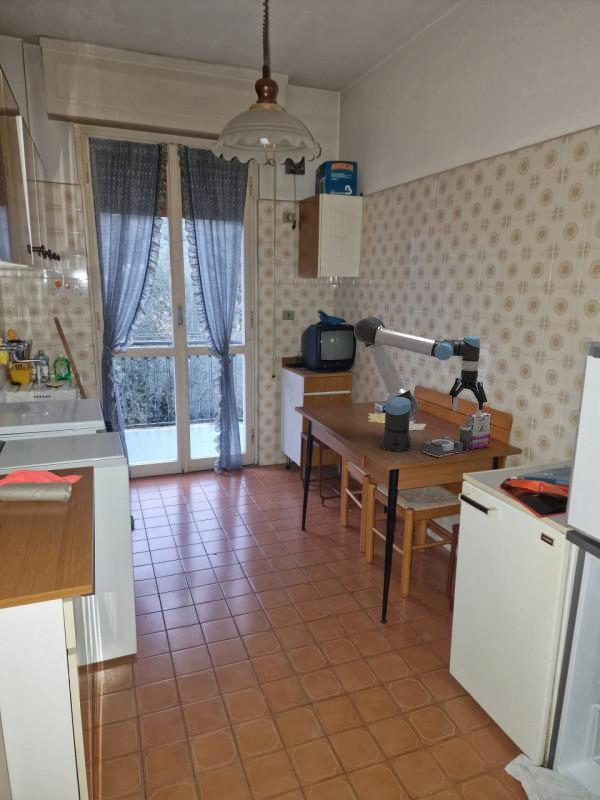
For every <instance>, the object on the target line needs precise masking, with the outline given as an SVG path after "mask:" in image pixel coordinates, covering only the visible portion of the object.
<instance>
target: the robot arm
mask: <svg viewBox="0 0 600 800" xmlns="http://www.w3.org/2000/svg"><path fill="white" fill-rule="evenodd" d="M353 334H354V337H355V339H356V340H357V341H358V342H360V343H363V344H364V346H365V348H366V349H367V350H369V351H370V353H371V354H372V357H373V360H374V362H375V365H376V366H377V369H378V371H379V374H380V376H381V379H382V382H383V383H384V386H385V388H386V390H387V393H388V396H387V400H386V402H385V406H384V409H385V410H384V411H385V412H384V431H383V434H382V437H381V439H380V442H379V447H380V446H381V447H382V449H383V448H385V449H384V450H386V449H389V450H388V451H390V450H408V449H410V450H412V448H413V443H412V439H411V436H410V435H411V434H410V423H411V422H410V420H411V419H412V418H413V417H414V416H415V415H416V414H417V412H418V408H419V407H418V406H419V403H418V400H417V398H416V397H415V396H414V395H412V392H411V390H410V389H409V388H407V387H406V386H405V384H404V381H403V379H402V377H401V375H400V372H399V370H398V367H397V365H396V362H395V360H394V359H393V355H392V353H391V351H390V349H389V347H393V348H394V349H395V348H396V349H400V350H404V351H408V352H413V353H417V354H420V355H425V356H428V357H429V356H430V357H433V358H435V359H436V358H437V360H439V361H447V360H449V359H451V358H452V357H461V371H460V377H456V378H455V379H454V382H453V385H452V387H451V389H450V391H449V393H448V395H449V396H451V404H452V412H457V411H458V406H459V405H458V404H459V397H458V396H459V395H460V394H461V393H462V392H463V391H464V389H465V390H470V391H471V392H472V394H473V396H474V397H475V399H476V401H477V403H476V409H475V411H476V412H475V414H476V417H480V416H481V413H482V411H483V409H484V404H485V403H488V399H487V398H488V397H487V395H486V392H485V389H484V386H483V385H484V383H483V381H478V380H477V379H478V376H479V370H478V369H479V365H480V364H479V362H480V352H481V351H480V350H481V338H480V337H479V336H475V335H474V336H473V335H472V336H471V335H465V336H464V337H463V339H461V340H460V339H459V340H458V339H446V338H444V339H441V338H440V339H438V340H436V339H433V338H428V337H423V336H418V335H415V334H410V333H406V332H401V331H397V330H394V329H393V330H392V329H388V328H386V325H385V323H384V321H383V320H382V319H380V318H379V317H375V316H371V317H370V316H369V317H366V318H362V319H360V320H358V321H357V322H356V323H355V325H354V328H353ZM381 447H380V448H381ZM408 451H409V450H408Z"/></svg>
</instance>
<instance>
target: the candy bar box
mask: <svg viewBox="0 0 600 800" xmlns="http://www.w3.org/2000/svg"><path fill="white" fill-rule="evenodd" d="M491 422H492V414H491V413H487V412H481V416H480V417H476V413H471V414H467V415H466V424H465V425H469V426H470V427H471V429H470V438H469V448H470V449H469V450H471V449H472V450H476V449H475V448H479V449H483V447H485V448H489V447H488V446H490V437H491V426H492V425H491Z"/></svg>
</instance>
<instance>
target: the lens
mask: <svg viewBox="0 0 600 800" xmlns="http://www.w3.org/2000/svg"><path fill="white" fill-rule="evenodd" d="M470 429H471V427H470V426H469V425H466V424H461V425H459V440H458V441H460V442H463V447H462V451H463V450H467V449H469V438H470ZM469 450H470V449H469ZM467 451H468V450H467Z"/></svg>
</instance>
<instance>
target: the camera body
mask: <svg viewBox="0 0 600 800" xmlns="http://www.w3.org/2000/svg"><path fill="white" fill-rule="evenodd" d="M421 445H422V447H421V452H422V451H425V452H428V453H431V454H434V455H437V456H440V455H444V454H449V453H456V452H462V453H463V450H462V447H463V442H460V441H459V440H456V439H453V438H451V437H449V436H444V437H442V438H439V439H437V438H436V439H432V440H431V442H430V441H427V440H426V441H422V444H421Z"/></svg>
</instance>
